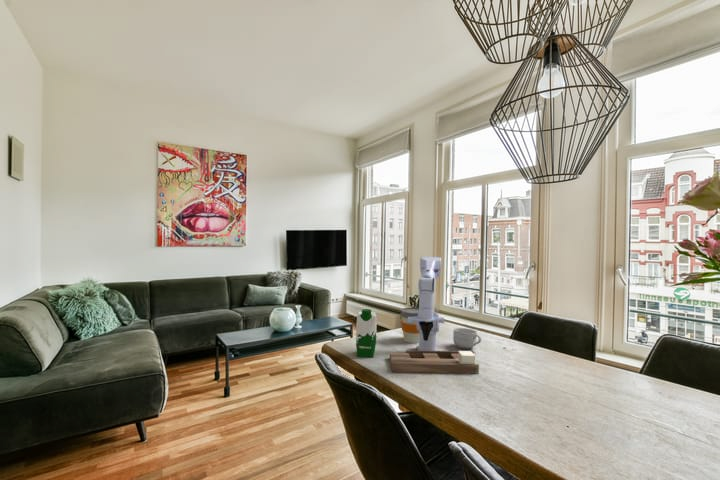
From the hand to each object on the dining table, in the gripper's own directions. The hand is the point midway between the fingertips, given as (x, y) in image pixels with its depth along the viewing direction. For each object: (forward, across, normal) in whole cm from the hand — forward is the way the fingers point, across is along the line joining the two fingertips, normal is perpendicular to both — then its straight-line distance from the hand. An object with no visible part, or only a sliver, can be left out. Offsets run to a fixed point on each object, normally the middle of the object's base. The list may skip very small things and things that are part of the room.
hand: (425, 339), depth 135 cm
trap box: (+10, +2, -1) cm, 10 cm away
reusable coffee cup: (+10, 0, +30) cm, 32 cm away
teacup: (+10, +24, +20) cm, 33 cm away
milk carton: (+10, -24, +10) cm, 28 cm away
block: (+8, +15, -5) cm, 18 cm away
